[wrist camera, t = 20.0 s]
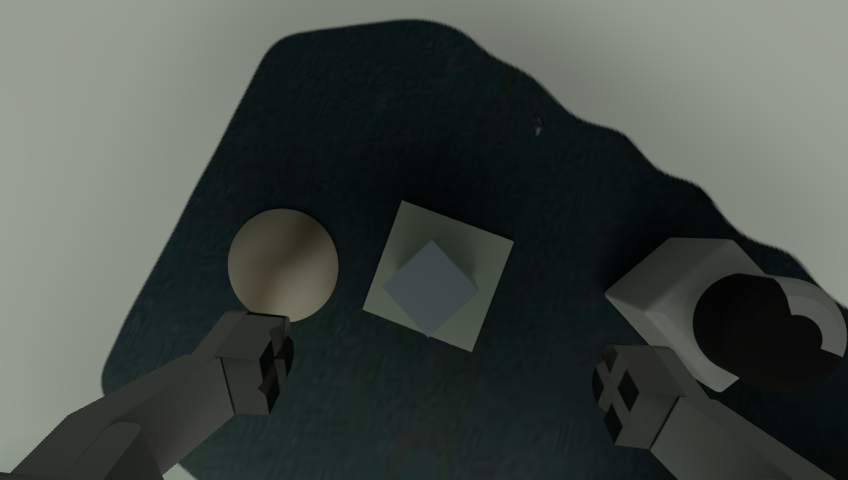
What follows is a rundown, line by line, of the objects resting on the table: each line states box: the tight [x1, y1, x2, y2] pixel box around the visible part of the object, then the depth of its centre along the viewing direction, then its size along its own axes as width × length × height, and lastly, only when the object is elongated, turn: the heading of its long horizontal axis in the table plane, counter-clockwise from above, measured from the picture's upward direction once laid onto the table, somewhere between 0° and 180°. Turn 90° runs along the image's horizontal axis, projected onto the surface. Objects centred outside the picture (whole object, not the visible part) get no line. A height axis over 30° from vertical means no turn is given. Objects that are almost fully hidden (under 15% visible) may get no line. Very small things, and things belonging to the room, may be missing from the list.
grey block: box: [382, 238, 479, 337], centre depth 29 cm, size 5×5×7 cm
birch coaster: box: [228, 209, 338, 322], centre depth 34 cm, size 10×10×1 cm
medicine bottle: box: [605, 237, 847, 392], centre depth 25 cm, size 7×7×12 cm
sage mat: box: [363, 200, 514, 352], centre depth 33 cm, size 10×10×1 cm
